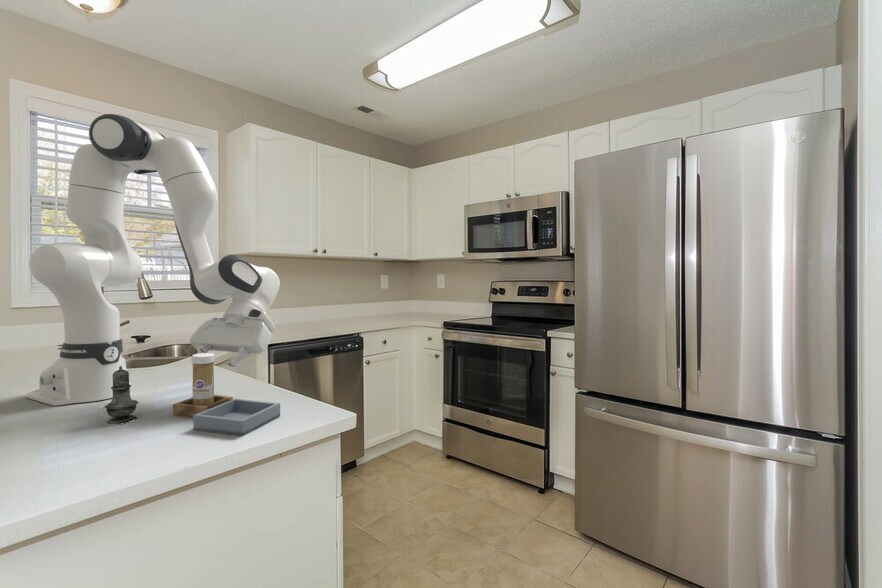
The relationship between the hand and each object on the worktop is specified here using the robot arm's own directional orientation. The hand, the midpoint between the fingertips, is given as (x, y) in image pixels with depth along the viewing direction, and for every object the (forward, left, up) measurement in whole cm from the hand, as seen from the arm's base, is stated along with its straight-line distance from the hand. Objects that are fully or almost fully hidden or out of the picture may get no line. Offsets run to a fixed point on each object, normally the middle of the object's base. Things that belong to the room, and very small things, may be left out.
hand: (214, 364), depth 101 cm
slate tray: (+13, -7, -10) cm, 18 cm away
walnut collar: (0, -3, -10) cm, 11 cm away
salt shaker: (-12, -13, -11) cm, 21 cm away
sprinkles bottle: (0, -3, -11) cm, 11 cm away
